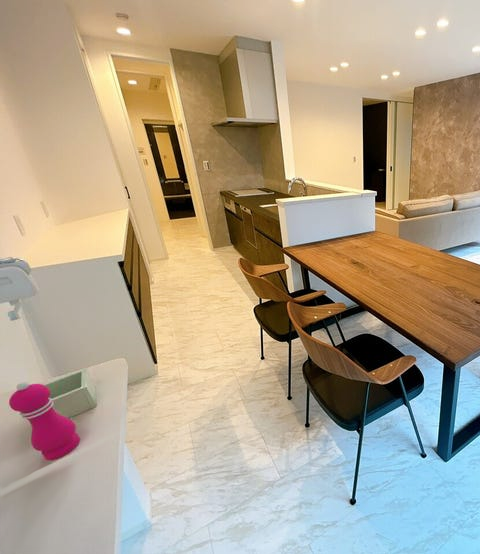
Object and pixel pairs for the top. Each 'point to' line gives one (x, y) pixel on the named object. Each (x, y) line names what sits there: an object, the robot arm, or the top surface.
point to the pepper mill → (44, 421)
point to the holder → (72, 393)
